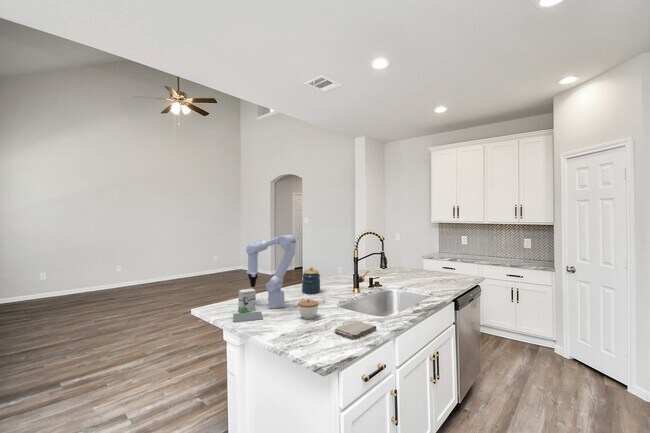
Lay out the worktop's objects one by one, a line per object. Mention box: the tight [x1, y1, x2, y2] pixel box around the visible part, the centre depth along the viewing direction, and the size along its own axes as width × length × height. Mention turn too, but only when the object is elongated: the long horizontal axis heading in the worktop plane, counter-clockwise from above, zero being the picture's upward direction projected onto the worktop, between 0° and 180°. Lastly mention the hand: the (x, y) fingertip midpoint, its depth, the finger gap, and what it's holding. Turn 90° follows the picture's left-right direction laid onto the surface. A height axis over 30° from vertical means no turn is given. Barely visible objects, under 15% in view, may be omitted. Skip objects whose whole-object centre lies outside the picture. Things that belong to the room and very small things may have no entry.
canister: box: [301, 266, 321, 295], centre depth 219 cm, size 13×13×18 cm
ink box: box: [237, 288, 257, 313], centre depth 177 cm, size 9×5×12 cm, turn 126°
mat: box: [232, 311, 264, 323], centre depth 166 cm, size 15×12×1 cm
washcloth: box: [334, 320, 377, 340], centre depth 146 cm, size 12×18×3 cm, turn 136°
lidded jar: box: [297, 298, 319, 320], centre depth 167 cm, size 11×11×9 cm
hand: (252, 286), depth 192 cm, fingers open, 3 cm apart
